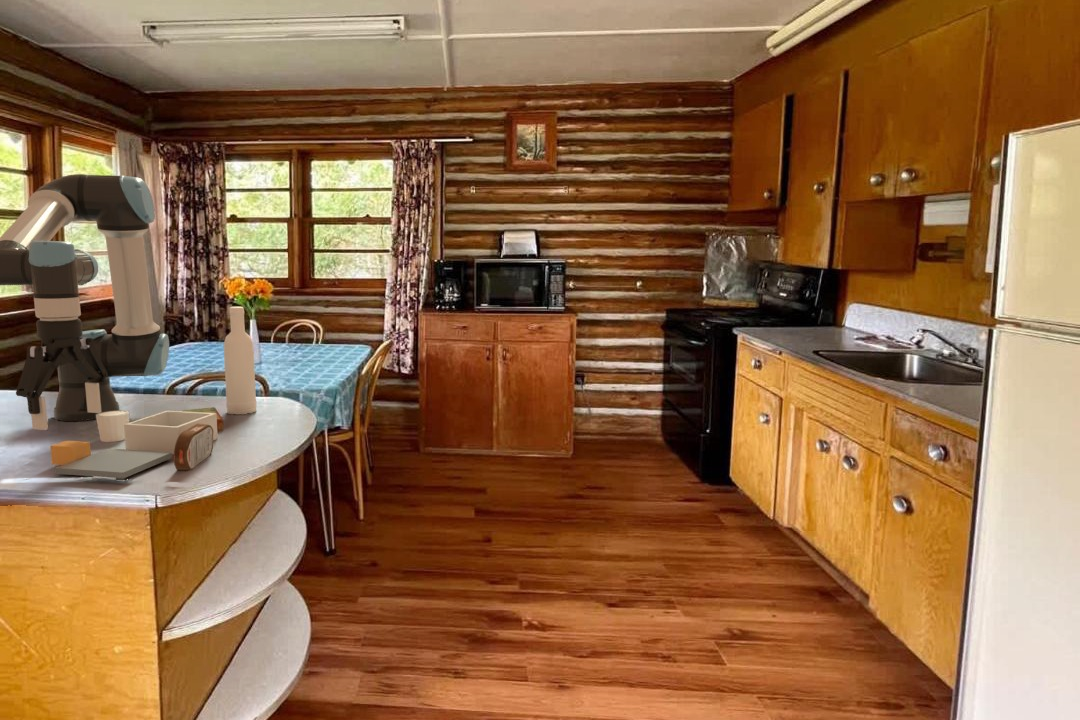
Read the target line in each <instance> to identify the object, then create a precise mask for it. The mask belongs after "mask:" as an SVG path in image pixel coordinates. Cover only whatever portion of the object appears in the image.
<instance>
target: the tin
mask: <svg viewBox="0 0 1080 720" xmlns="http://www.w3.org/2000/svg"><path fill="white" fill-rule="evenodd" d="M213 449H214V441H213V428H212V427H211V426H210V425H206V424H199V423H198V424H195V425H194V426H192V427H190V428H188V429H187V430H185V431H183V432H181V434H180V435H179V436H178V438H177V441H176V444H175V448H174V455H173V464H174V467H175V469H176V470H177V471H191V470H193V468H194V467H196V466H198V465H199V464H200V463H201V462H203V461H204V460H205V459H207V458H208V457H209V456H211V455H212V453H213Z"/></svg>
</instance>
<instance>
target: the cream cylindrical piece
mask: <svg viewBox="0 0 1080 720" xmlns="http://www.w3.org/2000/svg"><path fill="white" fill-rule="evenodd" d="M95 420H96V423H97V429H98V435H99V440H100V442H105V443H108V442H109V443H112V442H119V441H125V430H124V424H127V423H130V412H129V411H128V410H120V411H107V412H102V413H98V414H96V419H95Z"/></svg>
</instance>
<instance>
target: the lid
mask: <svg viewBox="0 0 1080 720" xmlns="http://www.w3.org/2000/svg"><path fill="white" fill-rule="evenodd" d="M50 455H51V465H54V466H56V467H54V472H55V473H54V474H57V475H69V476H70V475H71V476H81V477H99V478H100V477H101V478H112V479H113V478H114V479H115V481H116V480H126V481H127V479H128V480H130V479H129V477H130V476H132V475H135V474H137V473H139V472H143V471H145V470H146V469H150V468H151V467H154V466H156V465H159V464H162V462H163V463H164V462H166V461H168V460H170V459H172V458H173V455H172V452H157V451H141V450H126V448H124V449H122V448H109V447H108V448H106V449H104V450H101V451H97V452H96V453H93V454H91V442H90V441H80V440H78V441H77V440H64V441H61V442H58V443H54V444H51V445H50Z"/></svg>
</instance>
